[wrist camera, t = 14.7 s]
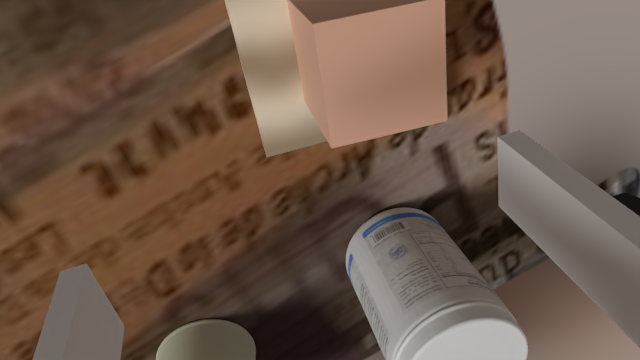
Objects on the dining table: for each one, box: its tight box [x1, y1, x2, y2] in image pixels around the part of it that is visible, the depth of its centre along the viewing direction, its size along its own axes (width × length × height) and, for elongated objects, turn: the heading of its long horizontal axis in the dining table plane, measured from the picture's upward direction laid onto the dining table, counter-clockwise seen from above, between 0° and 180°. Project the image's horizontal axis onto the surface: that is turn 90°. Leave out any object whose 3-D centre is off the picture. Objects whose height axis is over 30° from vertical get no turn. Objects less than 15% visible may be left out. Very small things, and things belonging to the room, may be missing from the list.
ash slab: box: [225, 0, 327, 157], centre depth 35 cm, size 14×14×3 cm
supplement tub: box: [346, 207, 528, 360], centre depth 40 cm, size 10×10×15 cm
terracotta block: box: [287, 0, 447, 148], centre depth 31 cm, size 7×7×8 cm
